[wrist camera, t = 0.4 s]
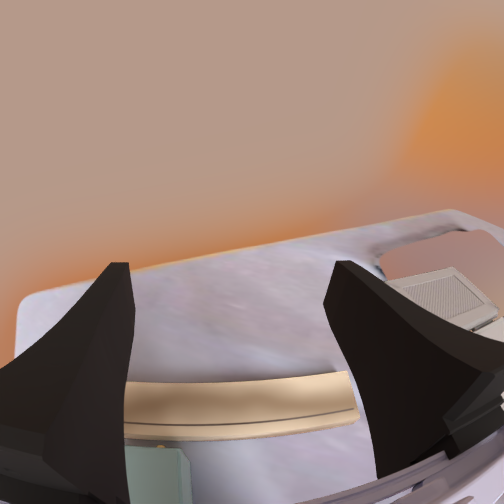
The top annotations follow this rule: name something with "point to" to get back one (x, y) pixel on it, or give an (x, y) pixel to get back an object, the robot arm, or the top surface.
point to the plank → (238, 408)
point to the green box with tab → (158, 475)
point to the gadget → (453, 301)
